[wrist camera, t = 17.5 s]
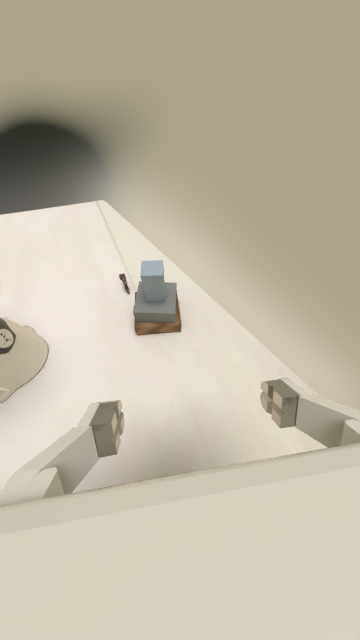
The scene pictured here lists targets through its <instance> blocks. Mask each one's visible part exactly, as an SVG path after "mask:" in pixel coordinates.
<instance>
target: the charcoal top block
mask: <svg viewBox="0 0 360 640" xmlns="http://www.w3.org/2000/svg"><path fill="white" fill-rule="evenodd" d="M164 283H165V282H164ZM176 284H177V283H165V302H161V303H147V301H146V297H145V292H144V288H143V284H142V282H140V281H139V286H138V291H137V296H136V301H135V306H134V311H133V313H134V316H135V319H136V322H151V323H175V313H176Z"/></svg>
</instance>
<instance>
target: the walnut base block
mask: <svg viewBox="0 0 360 640" xmlns="http://www.w3.org/2000/svg"><path fill="white" fill-rule="evenodd" d="M136 296H137V292H135V301H136ZM135 331H136V333H137V335H147V334H158V333H169V332H180V331H181V318H180V312H179V305H178V298H177V291H176V313H175V323H151V322H136V319H135Z"/></svg>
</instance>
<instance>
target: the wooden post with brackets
mask: <svg viewBox="0 0 360 640" xmlns="http://www.w3.org/2000/svg"><path fill="white" fill-rule="evenodd" d="M119 277H120V279H121V280H123V283H124V285H125V289H126V290H127V293H128V294H129V293H130V292H129V288H128V286H127V282H126V277H125V274H120V275H119Z"/></svg>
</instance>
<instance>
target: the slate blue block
mask: <svg viewBox="0 0 360 640" xmlns="http://www.w3.org/2000/svg"><path fill="white" fill-rule="evenodd" d="M141 280H142V284H143V288H144V292H145V297H146V301H147V303H161V302H165V283H164V270H163V260H159V261H142V265H141Z"/></svg>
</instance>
